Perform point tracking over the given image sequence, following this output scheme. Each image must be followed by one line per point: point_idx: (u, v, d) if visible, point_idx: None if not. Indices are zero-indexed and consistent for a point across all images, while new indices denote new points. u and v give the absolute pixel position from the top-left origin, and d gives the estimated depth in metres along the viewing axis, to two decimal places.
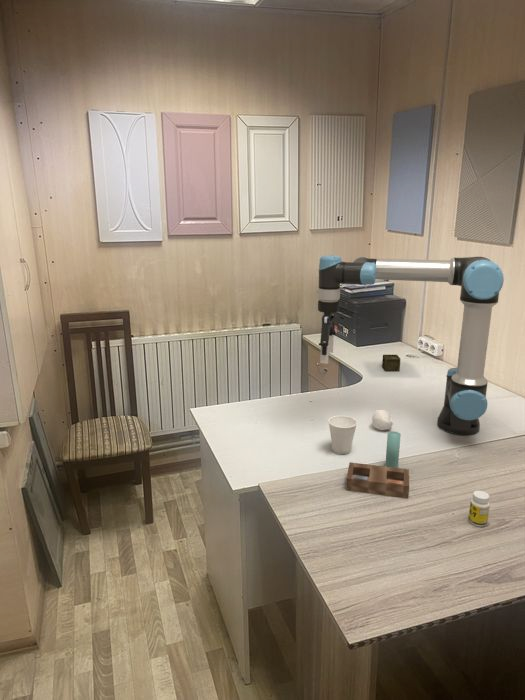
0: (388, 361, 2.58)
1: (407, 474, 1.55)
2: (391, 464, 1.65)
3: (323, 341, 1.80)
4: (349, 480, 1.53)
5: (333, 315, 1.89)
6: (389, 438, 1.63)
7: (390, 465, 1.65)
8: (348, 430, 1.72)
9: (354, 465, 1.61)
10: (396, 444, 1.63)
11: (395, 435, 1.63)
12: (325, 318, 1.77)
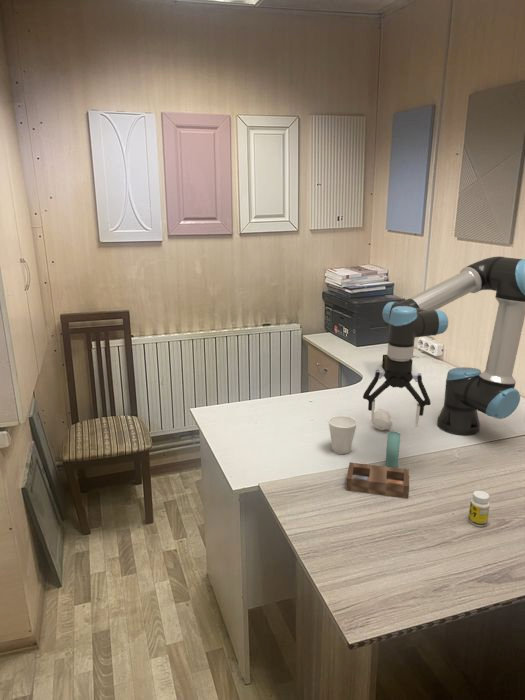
0: None
1: (407, 474, 1.55)
2: (391, 464, 1.65)
3: None
4: (349, 480, 1.53)
5: (418, 382, 1.56)
6: (389, 438, 1.63)
7: (390, 465, 1.65)
8: (348, 430, 1.72)
9: (354, 465, 1.61)
10: (396, 444, 1.63)
11: (395, 435, 1.63)
12: (376, 371, 1.60)
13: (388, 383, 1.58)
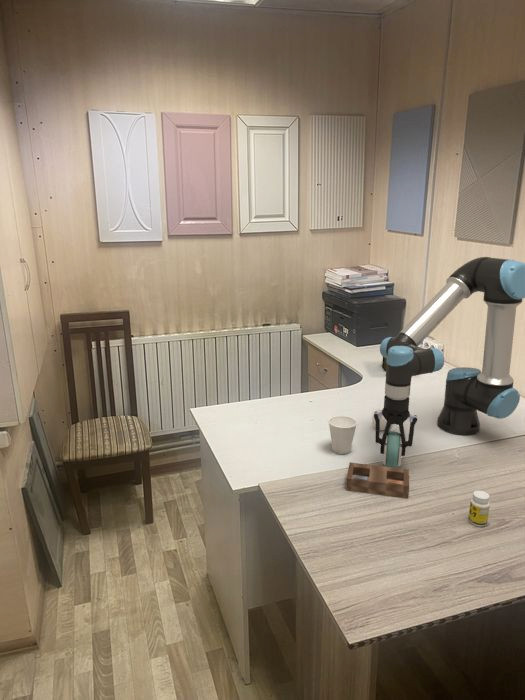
0: None
1: (407, 474, 1.55)
2: (391, 464, 1.65)
3: None
4: (349, 480, 1.53)
5: (412, 423, 1.60)
6: (389, 438, 1.63)
7: (390, 465, 1.65)
8: (348, 430, 1.72)
9: (354, 465, 1.61)
10: (396, 444, 1.63)
11: (395, 435, 1.63)
12: (374, 414, 1.64)
13: (389, 422, 1.61)
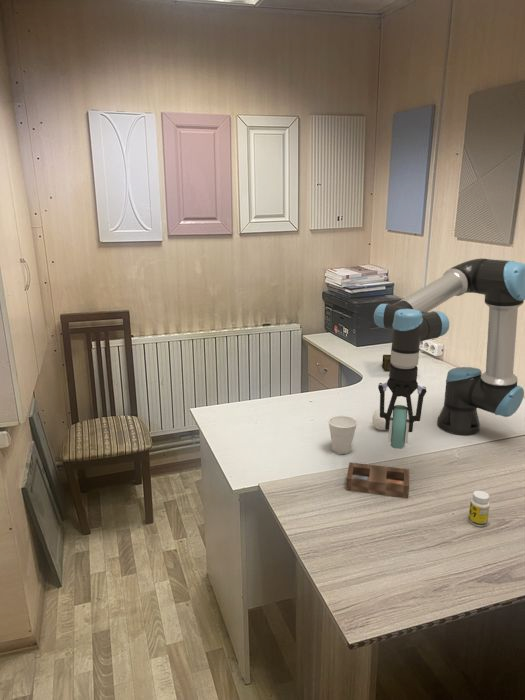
0: (388, 361, 2.58)
1: (407, 474, 1.55)
2: (397, 441, 1.49)
3: None
4: (349, 480, 1.53)
5: (420, 394, 1.45)
6: (395, 412, 1.47)
7: (396, 442, 1.49)
8: (348, 430, 1.72)
9: (354, 465, 1.61)
10: (403, 418, 1.47)
11: (402, 408, 1.48)
12: (378, 385, 1.48)
13: (395, 394, 1.46)
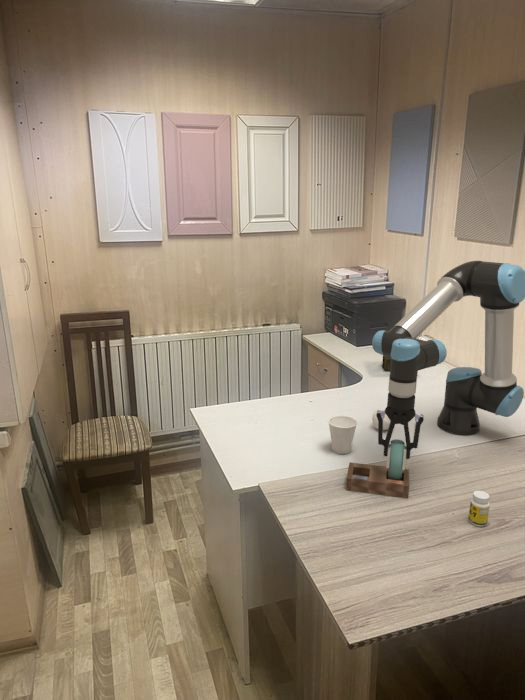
0: (388, 361, 2.58)
1: (407, 474, 1.55)
2: (394, 475, 1.52)
3: None
4: (349, 480, 1.53)
5: (418, 423, 1.47)
6: (393, 447, 1.51)
7: (393, 476, 1.53)
8: (348, 430, 1.72)
9: (354, 465, 1.61)
10: (400, 453, 1.50)
11: (399, 443, 1.51)
12: None
13: (393, 422, 1.48)
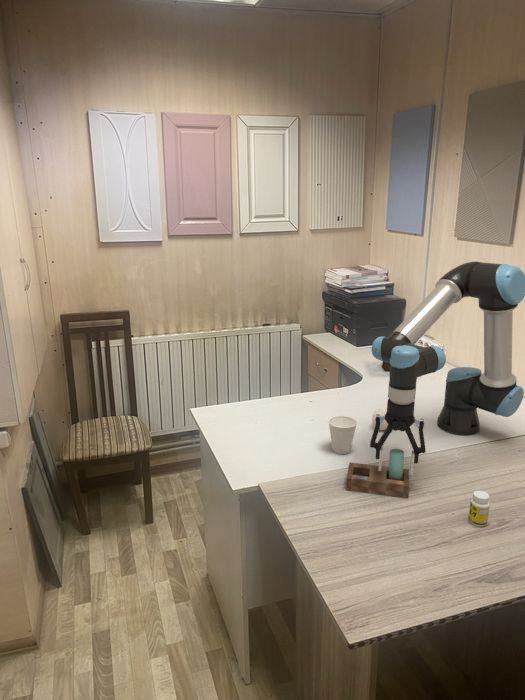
0: None
1: (407, 474, 1.55)
2: None
3: None
4: (349, 480, 1.53)
5: (419, 427, 1.47)
6: (392, 456, 1.52)
7: None
8: (348, 430, 1.72)
9: (354, 465, 1.61)
10: (399, 462, 1.51)
11: (398, 452, 1.52)
12: (376, 417, 1.51)
13: (390, 427, 1.49)
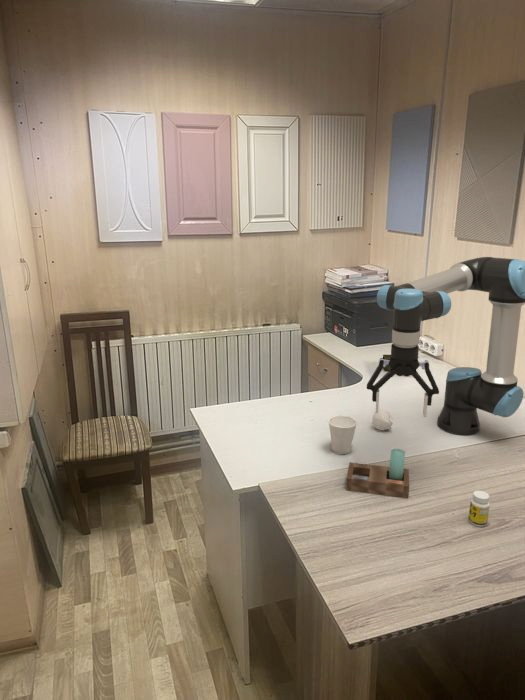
0: None
1: (407, 474, 1.55)
2: None
3: None
4: (349, 480, 1.53)
5: (425, 369, 1.45)
6: (393, 456, 1.51)
7: None
8: (348, 430, 1.72)
9: (354, 465, 1.61)
10: (400, 463, 1.51)
11: (399, 453, 1.52)
12: (380, 360, 1.49)
13: (393, 372, 1.47)
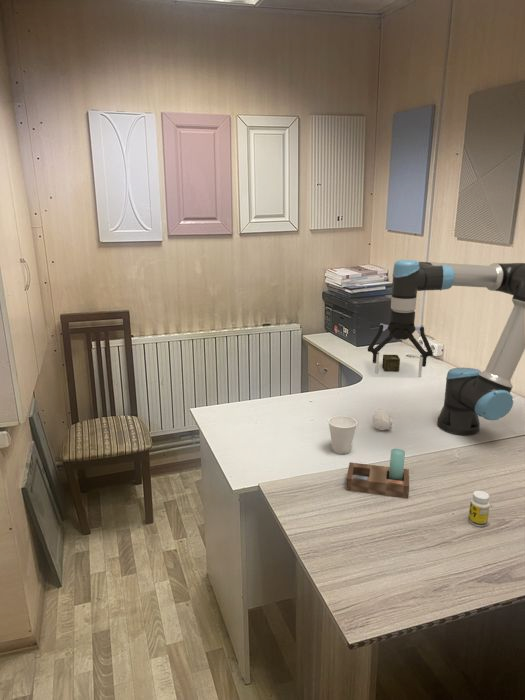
0: (387, 361, 2.58)
1: (407, 474, 1.55)
2: None
3: None
4: (349, 480, 1.53)
5: (421, 333, 1.62)
6: (393, 456, 1.51)
7: None
8: (348, 430, 1.72)
9: (354, 465, 1.61)
10: (400, 463, 1.51)
11: (399, 453, 1.52)
12: (380, 324, 1.65)
13: (392, 335, 1.64)
